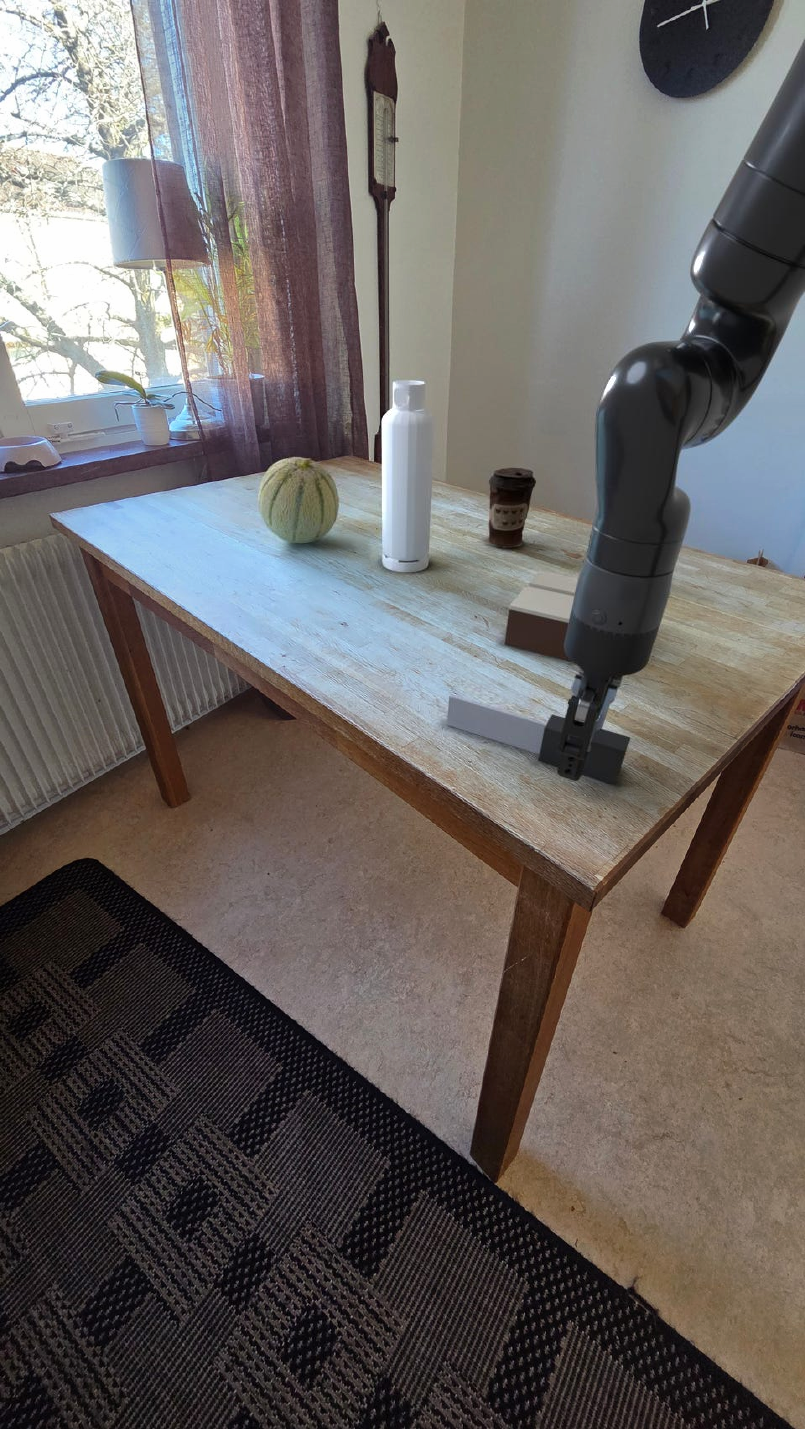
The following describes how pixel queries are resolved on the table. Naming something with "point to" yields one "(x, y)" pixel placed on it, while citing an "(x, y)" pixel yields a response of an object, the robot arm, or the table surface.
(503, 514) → the coffee cup
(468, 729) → the knife
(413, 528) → the bottle
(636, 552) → the robot arm
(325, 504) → the cantaloupe
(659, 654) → the table surface
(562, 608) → the cake
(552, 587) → the cake slice
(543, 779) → the table surface
